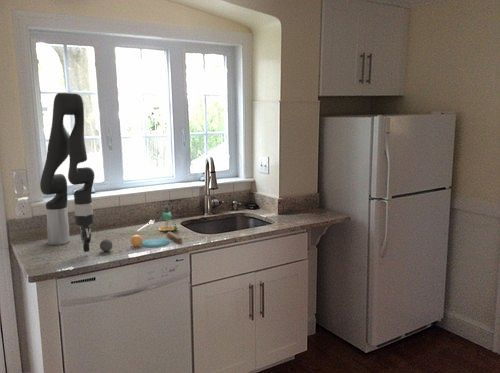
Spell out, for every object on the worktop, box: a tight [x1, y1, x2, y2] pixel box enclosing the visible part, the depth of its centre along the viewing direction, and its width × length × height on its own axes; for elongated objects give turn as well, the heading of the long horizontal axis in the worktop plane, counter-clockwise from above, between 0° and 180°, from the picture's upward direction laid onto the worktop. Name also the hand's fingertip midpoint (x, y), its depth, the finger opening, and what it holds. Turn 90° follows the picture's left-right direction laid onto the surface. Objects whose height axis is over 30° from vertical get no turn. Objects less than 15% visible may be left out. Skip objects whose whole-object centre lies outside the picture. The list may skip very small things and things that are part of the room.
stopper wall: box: [166, 231, 183, 245], centre depth 217 cm, size 2×14×2 cm, turn 32°
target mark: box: [140, 238, 171, 249], centre depth 212 cm, size 14×14×1 cm
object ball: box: [129, 234, 143, 248], centre depth 207 cm, size 6×6×6 cm
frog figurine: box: [158, 204, 180, 234], centre depth 234 cm, size 10×18×15 cm, turn 30°
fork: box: [136, 219, 155, 232], centre depth 243 cm, size 3×20×2 cm, turn 169°
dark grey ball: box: [99, 239, 113, 253], centre depth 200 cm, size 6×6×6 cm
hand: (86, 251), depth 195 cm, fingers closed
